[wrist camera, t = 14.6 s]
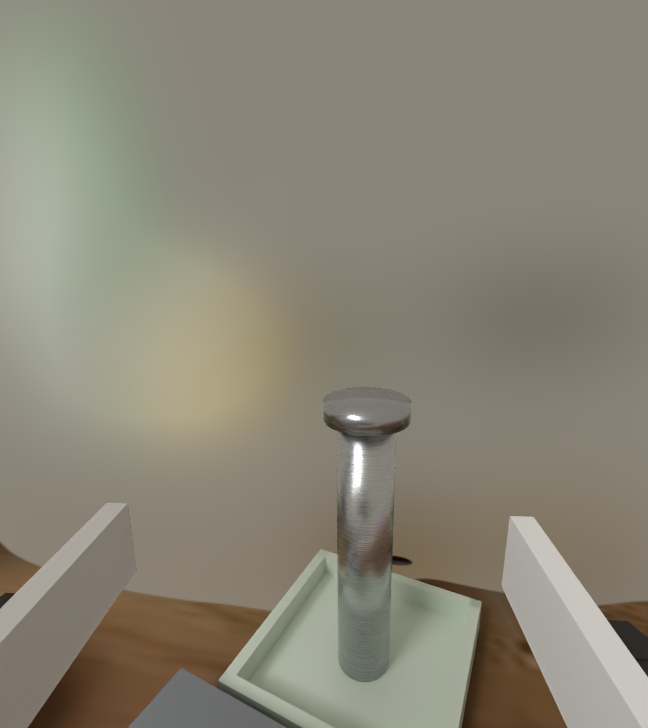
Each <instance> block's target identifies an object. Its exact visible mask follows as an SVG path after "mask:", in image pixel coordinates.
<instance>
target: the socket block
mask: <svg viewBox="0 0 648 728" xmlns="http://www.w3.org/2000/svg"><path fill="white" fill-rule="evenodd" d="M128 728H287V727H285V726H283V725H281V724H279V723H278V722H276V721H274V720H272V719H271V718H269V717H267V716H265V715H264V714H262V713H260V712H258V711H257V710H255V709H253V708H251V707H250V706H248V705H246V704H244V703H242V702H241V701H239V700H237V699H235V698H234V697H232V696H230V695H228V694H227V693H225V692H223V691H221V690H220V689H218V688H216V687H214V686H213V685H211V684H209V683H207V682H205V681H204V680H202V679H200V678H198V677H197V676H195V675H193V674H191V673H190V672H188V671H186V670H184V669H183V668H181V669H180V670H179V671H178V672H177V673H176V674H175V675H174V677H173V678H172V679H171V680H170V681H169V682H168V683H167V684H166V685H165V687H164V688H163V689H162V690H161V691H160V692H159V693H158V694H157V696H156V697H155V698H154V699H153V700H152V701H151V702H150V703H149V704H148V706H147V707H146V708H145V709H144V710H143V711H142V712H141V713H140V714H139V716H138V717H137V718H136V719H135V720H134V721H133V722H132V723H131V725H130V726H129V727H128Z"/></svg>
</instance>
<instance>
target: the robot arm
mask: <svg viewBox="0 0 648 728" xmlns="http://www.w3.org/2000/svg"><path fill="white" fill-rule="evenodd" d="M132 541H133V540H132V533H131V525H130V517H129V510H128V503H106V504H105V505H104V506H103V507H102V508H101V509H100V510H99V511H98V512H97V513H96V514H95V515H94V516H93V517H92V518H91V519H90V520H89V521H88V522H87V523H86V524H85V525H84V526H83V527H82V528H81V529H80V530H79V531H78V532H77V533H76V534H75V535H74V536H73V537H72V538H71V539H70V540H69V541H68V542H67V543H66V544H65V545H64V546H63V547H62V548H61V549H60V550H59V551H58V552H57V553H56V554H55V555H54V556H53V557H52V558H51V559H50V560H49V561H48V562H47V563H46V564H45V565H44V566H43V567H42V568H41V569H40V570H39V571H38V572H37V573H36V574H35V575H34V576H33V577H32V578H31V579H30V580H29V581H28V582H27V583H26V584H25V585H24V586H23V587H22V588H21V589H20V590H19V591H18V592H17V593H16V594H15V593H5V594H4V595H2V596H1V597H0V728H28V727H29V725H30V724H31V722H32V721H33V719H34V718H35V716H36V715H37V714H38V712H39V711H40V709H41V708H42V706H43V705H44V703H45V702H46V700H47V699H48V698H49V696H50V695H51V693H52V692H53V690H54V689H55V687H56V686H57V684H58V683H59V682H60V680H61V679H62V677H63V676H64V674H65V673H66V671H67V670H68V668H69V667H70V666H71V664H72V663H73V661H74V660H75V658H76V657H77V655H78V654H79V653H80V651H81V650H82V648H83V647H84V645H85V644H86V642H87V641H88V639H89V638H90V637H91V635H92V634H93V632H94V631H95V629H96V628H97V626H98V625H99V623H100V622H101V621H102V619H103V618H104V616H105V615H106V613H107V612H108V610H109V609H110V607H111V606H112V605H113V603H114V602H115V600H116V599H117V597H118V596H119V594H120V593H121V591H122V590H123V589H124V587H125V586H126V584H127V583H128V581H129V580H130V578H131V577H132V576H133V574H134V572H135V571H136V563H135V556H134V549H133V542H132ZM502 588H503V590H504V592H505V594H506V596H507V599H508V601H509V603H510V605H511V607H512V609H513V612H514V614H515V616H516V618H517V620H518V622H519V624H520V627H521V629H522V631H523V633H524V635H525V637H526V639H527V642H528V644H529V646H530V648H531V650H532V652H533V655H534V657H535V659H536V661H537V663H538V665H539V667H540V670H541V672H542V674H543V676H544V678H545V680H546V683H547V685H548V687H549V689H550V691H551V693H552V695H553V698H554V700H555V702H556V704H557V706H558V708H559V711H560V713H561V715H562V717H563V719H564V721H565V723H566V726H567V728H648V637H646V636H645V635H644V634H643V633H641V632H640V631H639V630H638V629H637V628H635V627H634V626H633V625H632V624H630V623H629V622H628V621H613V620H607V619H606V618H605V616H604V615H603V614H602V612H601V611H600V609H599V608H598V607H597V605H596V604H595V603H594V601H593V600H592V598H591V597H590V595H589V594H588V593H587V591H586V590H585V589H584V587H583V586H582V585H581V583H580V582H579V580H578V579H577V577H576V576H575V575H574V573H573V572H572V570H571V569H570V567H569V566H568V565H567V563H566V562H565V560H564V559H563V558H562V556H561V555H560V553H559V552H558V550H557V549H556V548H555V546H554V545H553V544H552V542H551V541H550V539H549V538H548V536H547V535H546V534H545V532H544V531H543V530H542V528H541V527H540V525H539V524H538V523H537V521H536V520H535V518H534V517H523V516H510V520H509V528H508V536H507V544H506V552H505V561H504V569H503V577H502Z"/></svg>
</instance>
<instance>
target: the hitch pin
mask: <svg viewBox="0 0 648 728" xmlns="http://www.w3.org/2000/svg"><path fill="white" fill-rule="evenodd" d="M323 402H324V422H325V423H326V425H327V426H328V427H330V428H332V429H334V430H336V431H337V553H338V554H337V565H338V662H339V665H340V667H341V669H342V671H343V672H344V673H345V674H346V675H347V676H348V677H350V678H351V679H353V680H356V681H359V682H372V681H375V680H377V679H379V678H380V677H382V676H383V675H384V674H385V672H386V671H387V668H388V665H389V644H390V612H391V581H392V548H393V518H394V486H395V454H396V433H397V432H399V431H402V430H404V429H405V428H407V427H408V426H409V424H410V415H411V400H410V399H409V398H408V397H407V396H406V395H404V394H402V393H399V392H396V391H393V390H388V389H382V388H372V387H357V388H347V389H342V390H337V391H334V392H331V393H330V394H328V395H326V396H325V397H324V400H323Z"/></svg>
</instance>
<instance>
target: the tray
mask: <svg viewBox="0 0 648 728" xmlns="http://www.w3.org/2000/svg"><path fill="white" fill-rule="evenodd" d="M481 603H482V602H481V601H478V600H475V599H472V598H469V597H466V596H463V595H460V594H457V593H454V592H451V591H448V590H445V589H442V588H439V587H435V586H432V585H429V584H426V583H423V582H420V581H417V580H414V579H411V578H408V577H405V576H402V575H399V574H395V573H393V572H392V581H391V612H390V644H389V665H388V668H387V671H386V672H385V674H384V675H383V676H382V677H380V678H379V679H377V680H375V681H372V682H359V681H356V680H353V679H351V678H350V677H348V676H347V675H346V674H345V673H344V672H343V671H342V669H341V667H340V665H339V662H338V565H337V554H335V553H332V552H329V551H326V550H322V549H320V550H319V552H318V553H317V554H316V556H315V557H314V558H313V560H312V561H311V562H310V563H309V565H308V566H307V567H306V569H305V570H304V571H303V572H302V574H301V575H300V576H299V577H298V579H297V580H296V581H295V583H294V584H293V585H292V586H291V588H290V589H289V590H288V591H287V593H286V594H285V595H284V597H283V598H282V599H281V601H280V602H279V603H278V604H277V606H276V607H275V608H274V609H273V611H272V612H271V613H270V615H269V616H268V617H267V618H266V620H265V621H264V622H263V624H262V625H261V626H260V627H259V629H258V630H257V631H256V632H255V634H254V635H253V636H252V638H251V639H250V640H249V641H248V643H247V644H246V645H245V647H244V648H243V649H242V650H241V652H240V653H239V654H238V656H237V657H236V658H235V659H234V661H233V662H232V663H231V665H230V666H229V667H228V668H227V670H226V671H225V672H224V674H223V675H222V676H221V677H220V679H219V680H218V686H219V689H220V690H221V691H223V692H225V693H227V694H228V695H230V696H232V697H234V698H235V699H237V700H239V701H241V702H242V703H244V704H246V705H248V706H250V707H251V708H253V709H255V710H257V711H258V712H260V713H262V714H264V715H265V716H267V717H269V718H271V719H272V720H274V721H276V722H278V723H279V724H281V725H283V726H285V727H287V728H462V723H463V718H464V712H465V707H466V701H467V695H468V690H469V684H470V678H471V673H472V667H473V661H474V656H475V650H476V644H477V639H478V633H479V626H480V615H481Z"/></svg>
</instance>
